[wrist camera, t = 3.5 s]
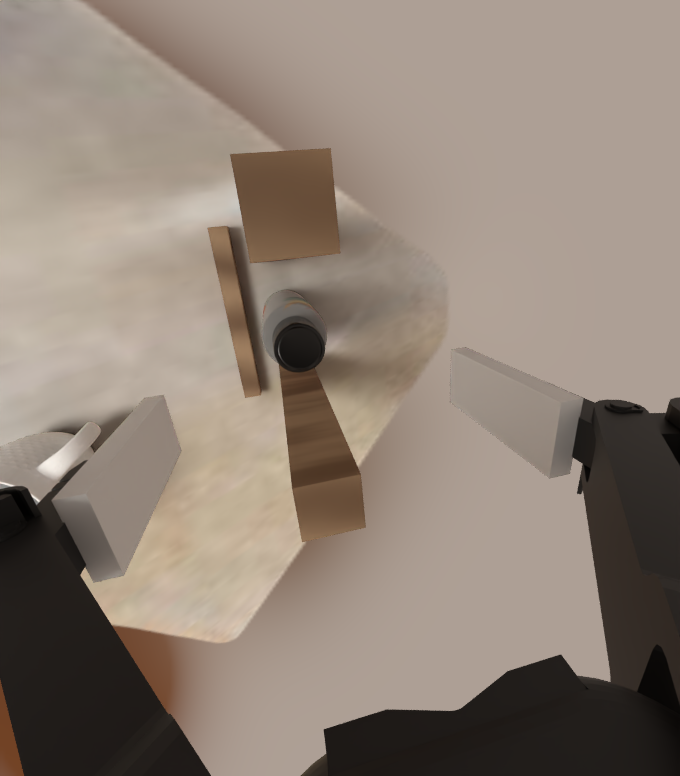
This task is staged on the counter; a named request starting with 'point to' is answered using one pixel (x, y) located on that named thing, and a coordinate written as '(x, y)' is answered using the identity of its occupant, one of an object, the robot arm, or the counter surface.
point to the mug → (45, 459)
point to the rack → (299, 390)
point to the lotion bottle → (293, 332)
